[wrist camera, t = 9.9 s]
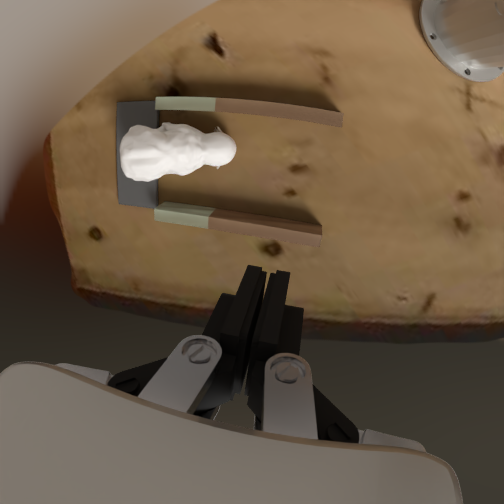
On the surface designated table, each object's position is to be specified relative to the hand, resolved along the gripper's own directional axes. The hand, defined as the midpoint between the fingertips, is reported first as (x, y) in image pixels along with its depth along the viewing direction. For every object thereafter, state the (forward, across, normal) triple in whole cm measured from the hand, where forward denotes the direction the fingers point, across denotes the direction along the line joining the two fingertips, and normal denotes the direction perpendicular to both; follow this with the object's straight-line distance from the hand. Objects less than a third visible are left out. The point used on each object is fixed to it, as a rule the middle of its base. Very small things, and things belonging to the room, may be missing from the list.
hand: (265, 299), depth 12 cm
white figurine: (+25, +13, -1) cm, 28 cm away
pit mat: (+24, +20, 0) cm, 32 cm away
